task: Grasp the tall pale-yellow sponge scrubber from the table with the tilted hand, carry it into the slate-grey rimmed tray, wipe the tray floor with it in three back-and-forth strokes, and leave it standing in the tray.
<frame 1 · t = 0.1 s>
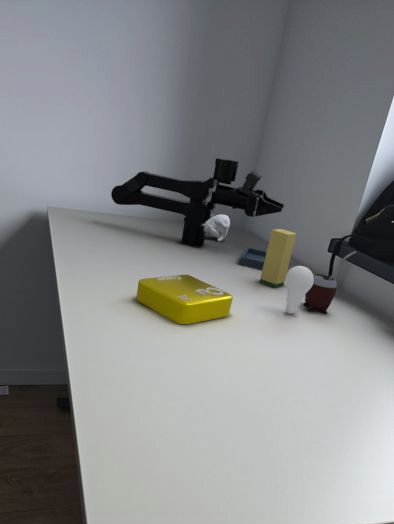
hand: (282, 208, 147), 17 cm above the table, tool horizontal, fingers open, 9 cm apart
element tile: (182, 308, 102), on the table
mate gourd: (316, 310, 118), on the table
sponge: (271, 284, 131), on the table
tray: (264, 264, 150), on the table
lightbulb: (289, 314, 111), on the table
white irregular rounded piece: (209, 238, 170), on the table
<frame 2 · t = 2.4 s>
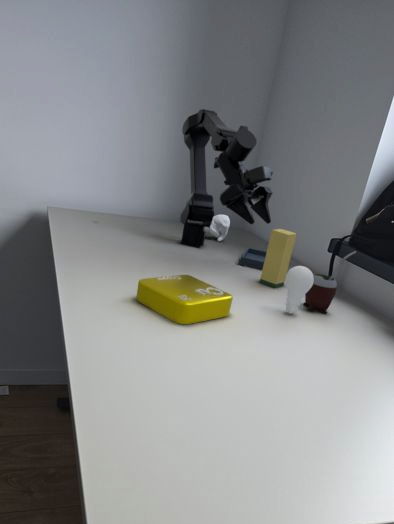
hand: (261, 223, 130), 14 cm above the table, tool tilted 45°, fingers open, 9 cm apart
nothing on the table moved.
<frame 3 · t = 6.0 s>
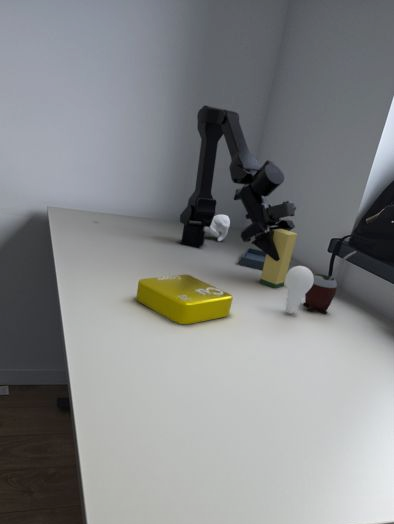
hand: (282, 259, 127), 7 cm above the table, tool tilted 45°, fingers closed on sponge, 5 cm apart
sponge: (271, 284, 131), on the table, touching gripper
everything else where it was.
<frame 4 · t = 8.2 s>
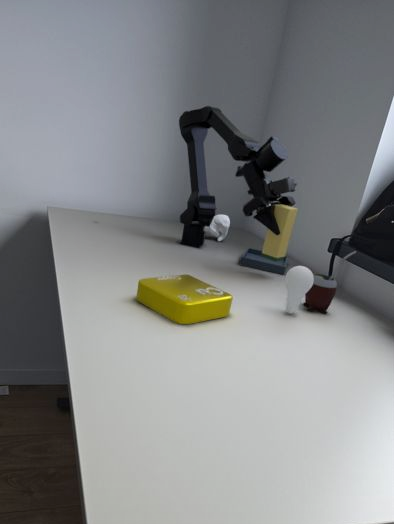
hand: (283, 234, 132), 12 cm above the table, tool tilted 45°, fingers closed on sponge, 5 cm apart
sponge: (272, 258, 135), point 5 cm above the table, touching gripper
everything else where it was.
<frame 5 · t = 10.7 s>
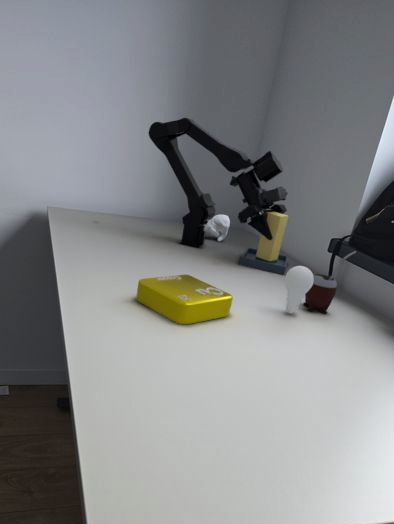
hand: (275, 239, 143), 9 cm above the table, tool tilted 45°, fingers closed on sponge, 5 cm apart
sponge: (265, 261, 147), point 2 cm above the table, touching gripper
everything else where it was.
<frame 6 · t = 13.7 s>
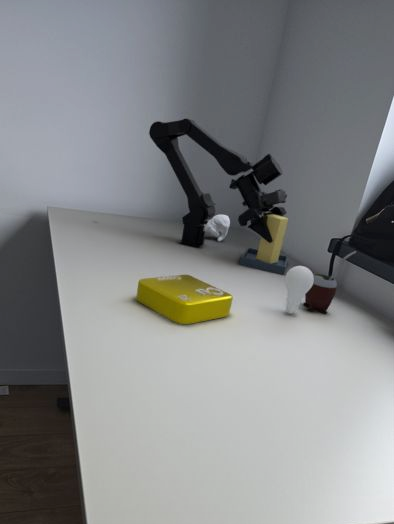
hand: (275, 241, 143), 8 cm above the table, tool tilted 45°, fingers closed on sponge, 5 cm apart
sponge: (266, 263, 147), point 1 cm above the table, touching gripper, tray
everything else where it was.
when the fingers open (8 cm above the table, at t = 15.8 s): sponge stays where it is, resting on tray.
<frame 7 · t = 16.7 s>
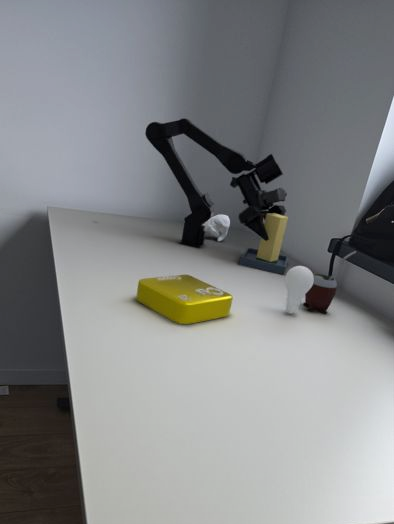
hand: (275, 239, 146), 8 cm above the table, tool tilted 45°, fingers open, 9 cm apart
sponge: (266, 261, 149), point 1 cm above the table, touching tray
everything else where it was.
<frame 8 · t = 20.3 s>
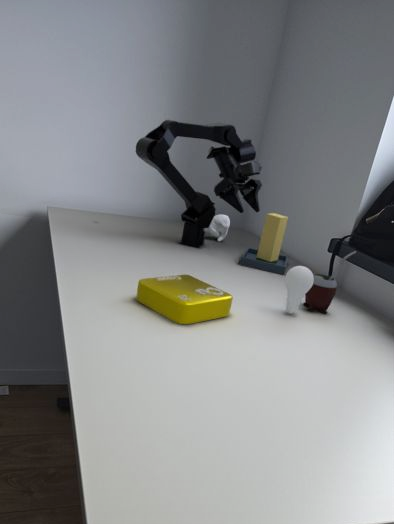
hand: (250, 212, 149), 14 cm above the table, tool tilted 45°, fingers open, 9 cm apart
nothing on the table moved.
at the end: sponge inside the target area in the tray (0.6 cm from its centre), point 0.8 cm above the tray's base; sponge tilted 0°; the gripper is holding nothing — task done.
